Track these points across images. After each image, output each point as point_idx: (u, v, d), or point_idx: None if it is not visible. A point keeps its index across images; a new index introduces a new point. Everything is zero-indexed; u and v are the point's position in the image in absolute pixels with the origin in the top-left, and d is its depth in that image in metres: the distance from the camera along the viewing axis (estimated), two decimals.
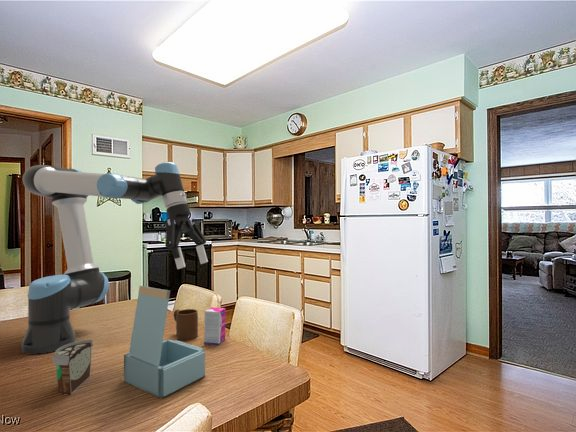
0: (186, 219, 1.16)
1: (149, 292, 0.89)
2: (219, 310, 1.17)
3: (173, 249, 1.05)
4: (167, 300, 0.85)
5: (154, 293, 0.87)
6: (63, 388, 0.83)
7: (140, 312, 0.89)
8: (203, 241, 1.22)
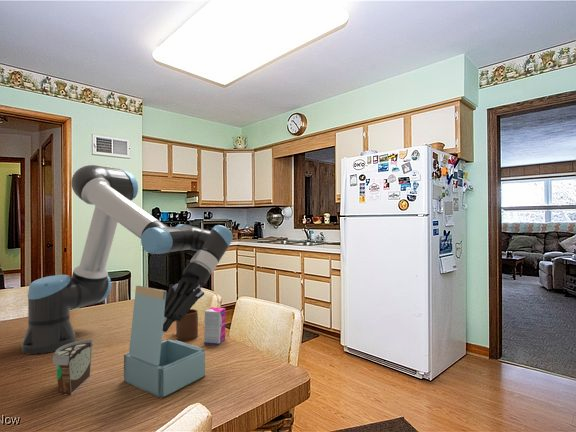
0: None
1: (146, 292, 0.88)
2: (219, 310, 1.17)
3: (171, 321, 0.90)
4: (164, 300, 0.84)
5: (151, 293, 0.86)
6: (63, 388, 0.83)
7: (138, 312, 0.89)
8: (166, 314, 0.94)
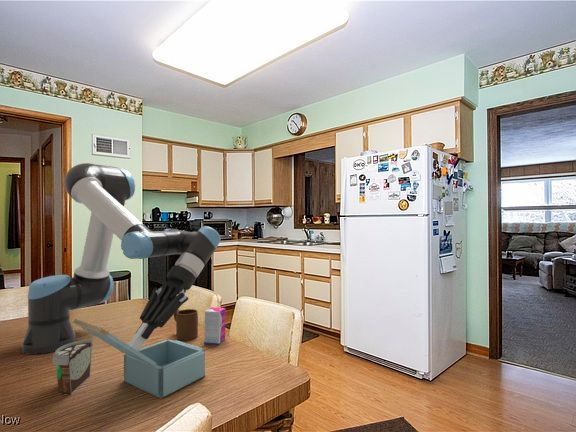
0: None
1: (86, 328, 0.75)
2: (219, 310, 1.17)
3: (152, 327, 0.85)
4: (109, 335, 0.72)
5: (91, 330, 0.74)
6: (63, 388, 0.83)
7: (99, 337, 0.80)
8: (148, 320, 0.89)
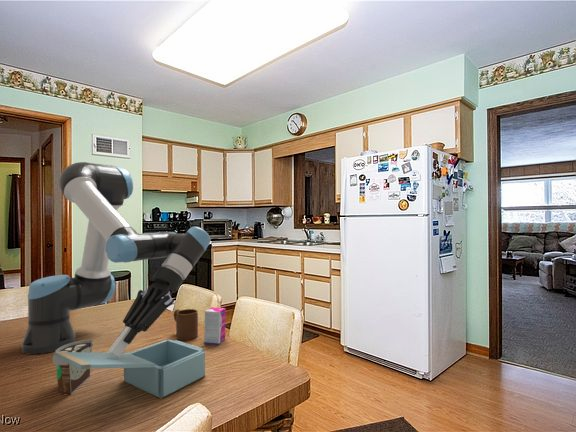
0: None
1: None
2: (219, 310, 1.17)
3: (135, 332, 0.82)
4: (92, 366, 0.69)
5: None
6: (63, 388, 0.83)
7: None
8: (132, 323, 0.86)
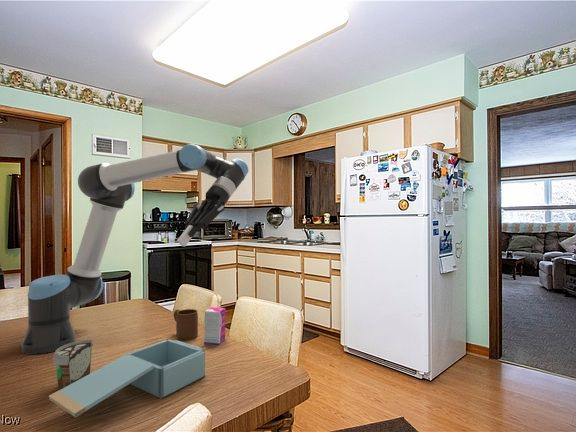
0: None
1: None
2: (219, 310, 1.17)
3: (196, 228, 1.04)
4: (87, 407, 0.69)
5: None
6: None
7: None
8: None
